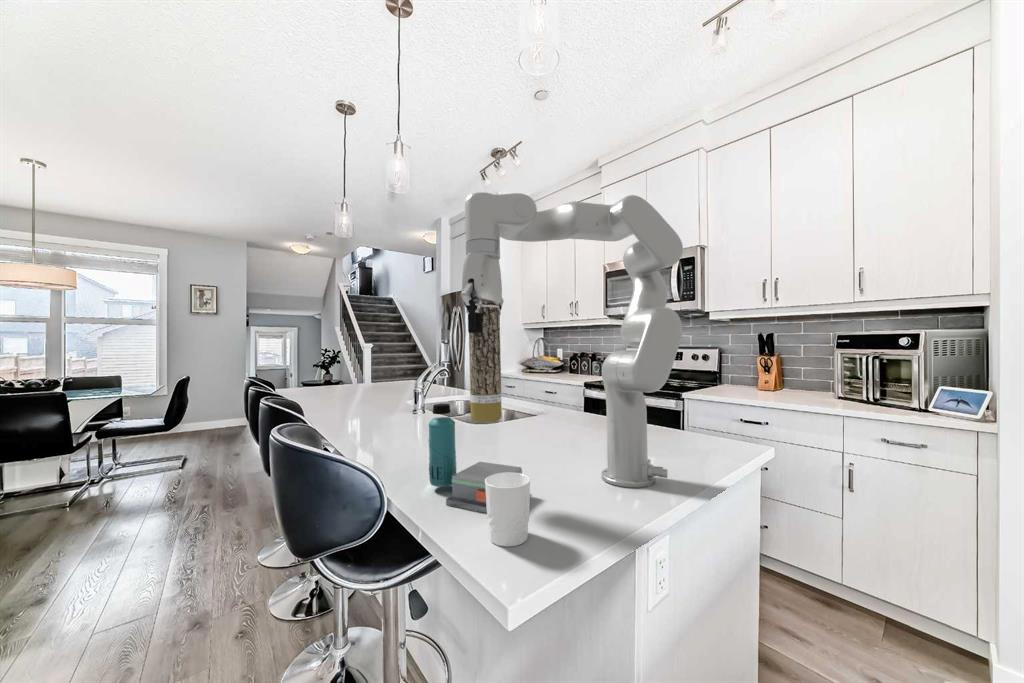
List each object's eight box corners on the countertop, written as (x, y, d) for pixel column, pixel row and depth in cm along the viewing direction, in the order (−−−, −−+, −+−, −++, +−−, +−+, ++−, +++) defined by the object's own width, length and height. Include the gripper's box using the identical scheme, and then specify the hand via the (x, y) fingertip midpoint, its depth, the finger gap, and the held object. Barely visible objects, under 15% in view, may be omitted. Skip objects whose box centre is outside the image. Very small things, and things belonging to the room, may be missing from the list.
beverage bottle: (460, 483, 94) (458, 401, 95) (453, 494, 88) (451, 405, 88) (433, 483, 95) (432, 401, 95) (425, 493, 88) (423, 405, 89)
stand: (527, 493, 87) (527, 466, 87) (499, 516, 76) (499, 485, 76) (478, 485, 93) (478, 460, 93) (446, 505, 82) (445, 476, 82)
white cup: (476, 537, 67) (475, 480, 68) (509, 522, 73) (508, 469, 73) (508, 554, 62) (506, 491, 62) (540, 536, 67) (539, 479, 67)
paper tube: (507, 418, 86) (505, 306, 86) (490, 424, 80) (488, 303, 80) (482, 416, 89) (480, 308, 90) (464, 421, 84) (462, 305, 84)
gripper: (488, 261, 95) (489, 334, 94) (445, 245, 79) (446, 332, 79) (515, 257, 91) (517, 333, 91) (476, 240, 76) (477, 331, 76)
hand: (484, 332), depth 85 cm, fingers closed on paper tube, 6 cm apart
